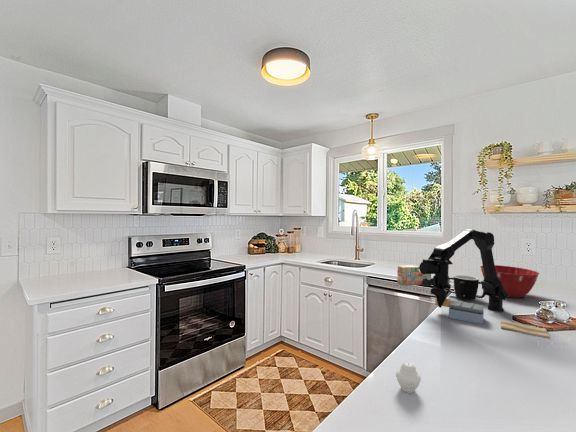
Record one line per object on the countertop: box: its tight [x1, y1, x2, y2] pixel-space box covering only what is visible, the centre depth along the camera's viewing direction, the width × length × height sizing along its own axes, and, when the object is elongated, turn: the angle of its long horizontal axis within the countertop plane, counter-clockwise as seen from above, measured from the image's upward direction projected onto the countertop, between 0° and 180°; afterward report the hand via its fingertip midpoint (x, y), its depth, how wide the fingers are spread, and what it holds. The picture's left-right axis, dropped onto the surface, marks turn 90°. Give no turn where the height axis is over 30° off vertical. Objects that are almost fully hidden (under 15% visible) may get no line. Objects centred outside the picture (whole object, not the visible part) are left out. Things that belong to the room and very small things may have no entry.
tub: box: [448, 307, 485, 325], centre depth 135 cm, size 9×13×4 cm
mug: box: [446, 274, 486, 301], centre depth 168 cm, size 16×16×12 cm
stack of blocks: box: [396, 265, 432, 287], centre depth 201 cm, size 21×6×12 cm, turn 101°
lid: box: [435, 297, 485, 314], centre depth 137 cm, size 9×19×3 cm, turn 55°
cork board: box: [500, 319, 550, 339], centre depth 124 cm, size 11×15×1 cm
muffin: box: [395, 362, 422, 394], centre depth 79 cm, size 6×6×7 cm
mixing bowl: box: [480, 264, 540, 299], centre depth 179 cm, size 28×28×15 cm
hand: (440, 306), depth 141 cm, fingers closed on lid, 3 cm apart
